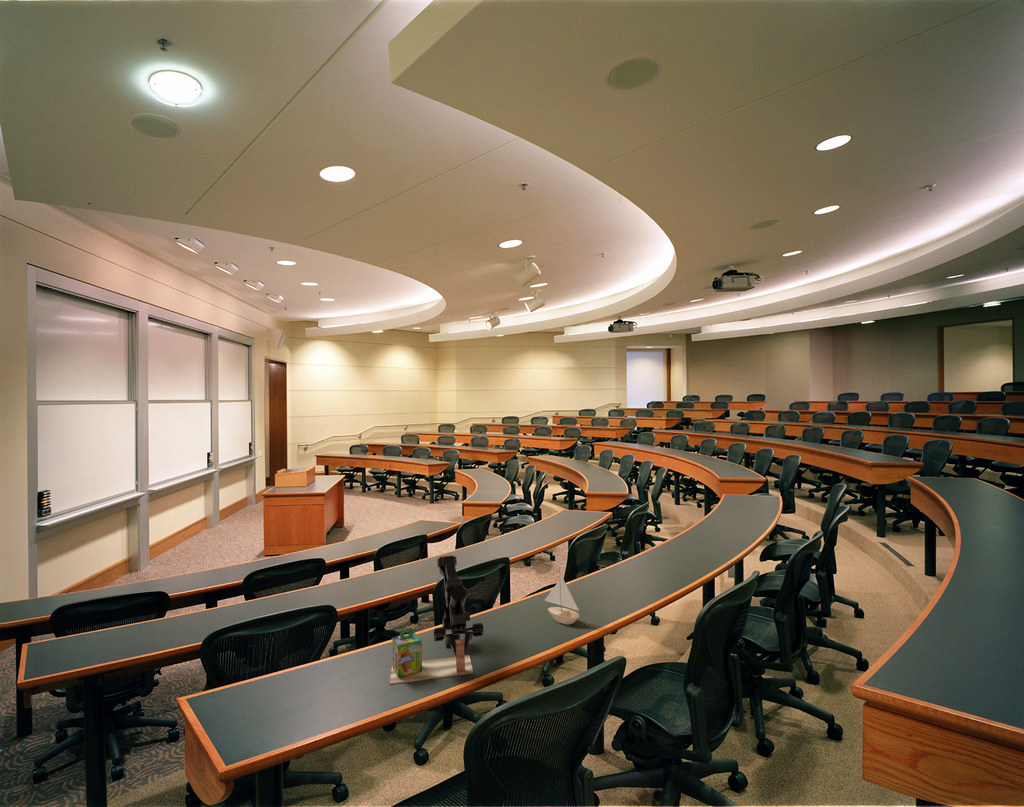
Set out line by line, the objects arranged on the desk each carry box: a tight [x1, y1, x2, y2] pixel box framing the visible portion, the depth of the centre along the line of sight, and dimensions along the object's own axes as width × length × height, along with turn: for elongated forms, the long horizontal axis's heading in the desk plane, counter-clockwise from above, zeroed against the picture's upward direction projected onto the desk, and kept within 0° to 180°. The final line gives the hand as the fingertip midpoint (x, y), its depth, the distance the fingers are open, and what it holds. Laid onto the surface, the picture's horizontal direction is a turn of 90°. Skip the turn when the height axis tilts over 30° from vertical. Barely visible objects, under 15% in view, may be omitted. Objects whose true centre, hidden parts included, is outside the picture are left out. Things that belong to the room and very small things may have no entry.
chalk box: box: [391, 627, 423, 678], centre depth 181 cm, size 9×9×15 cm
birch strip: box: [389, 638, 474, 685], centre depth 182 cm, size 14×30×12 cm, turn 101°
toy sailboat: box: [544, 566, 580, 626], centre depth 223 cm, size 21×25×9 cm
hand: (460, 655), depth 177 cm, fingers closed on birch strip, 3 cm apart
